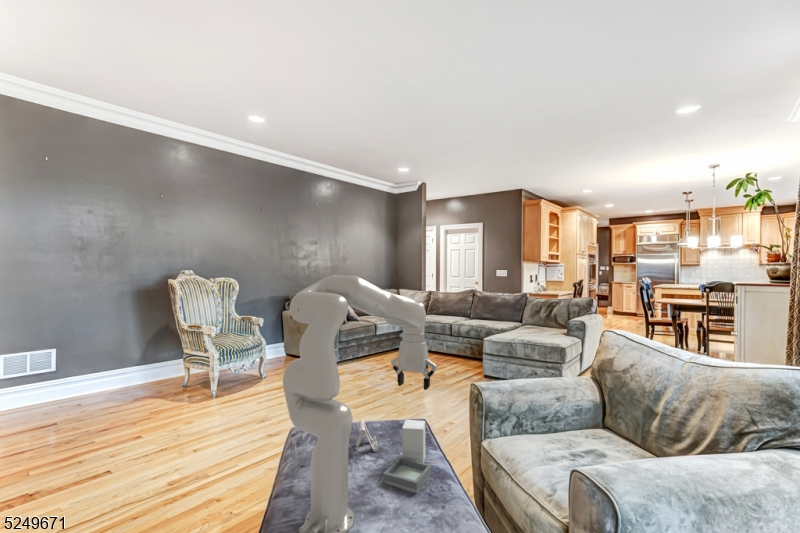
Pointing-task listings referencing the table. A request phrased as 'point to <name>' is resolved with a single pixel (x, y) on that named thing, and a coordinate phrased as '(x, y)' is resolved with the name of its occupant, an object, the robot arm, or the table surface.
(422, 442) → the supplement box
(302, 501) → the table surface
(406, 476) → the tray
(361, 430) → the portable electronic device stand
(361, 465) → the table surface
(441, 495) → the table surface
